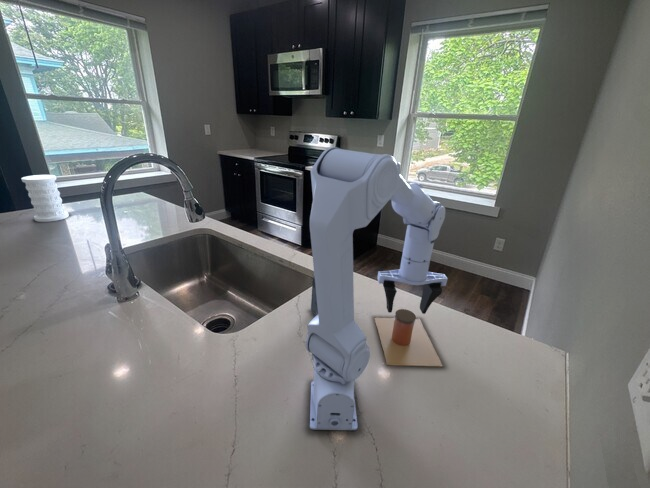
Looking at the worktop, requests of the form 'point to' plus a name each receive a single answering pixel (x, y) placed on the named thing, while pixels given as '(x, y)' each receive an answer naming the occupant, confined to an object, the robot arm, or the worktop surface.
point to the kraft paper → (407, 346)
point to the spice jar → (403, 327)
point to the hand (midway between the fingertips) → (405, 310)
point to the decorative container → (45, 198)
